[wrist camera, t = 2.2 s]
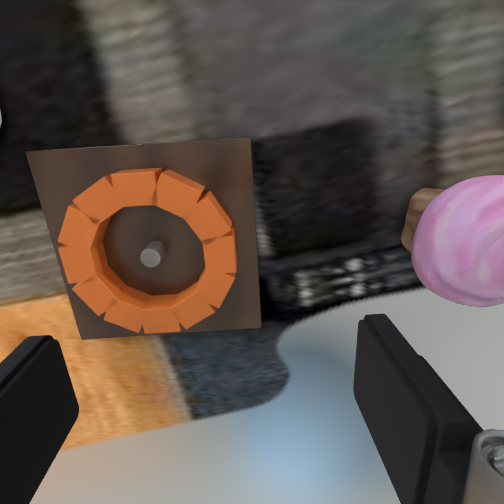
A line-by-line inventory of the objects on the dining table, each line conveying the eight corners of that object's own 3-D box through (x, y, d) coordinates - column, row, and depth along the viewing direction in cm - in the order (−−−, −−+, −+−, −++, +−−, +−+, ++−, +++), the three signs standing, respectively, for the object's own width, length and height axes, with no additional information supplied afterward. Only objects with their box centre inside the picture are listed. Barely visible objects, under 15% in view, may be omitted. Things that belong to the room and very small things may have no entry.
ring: (228, 163, 25) (227, 166, 23) (241, 312, 30) (241, 327, 28) (55, 174, 25) (36, 178, 23) (95, 322, 30) (84, 338, 27)
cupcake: (389, 163, 26) (470, 183, 17) (493, 165, 26) (631, 186, 17) (371, 264, 29) (431, 329, 20) (465, 265, 30) (567, 329, 20)
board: (250, 136, 25) (251, 137, 22) (261, 323, 31) (262, 341, 29) (31, 150, 25) (6, 153, 22) (85, 334, 31) (70, 353, 28)
